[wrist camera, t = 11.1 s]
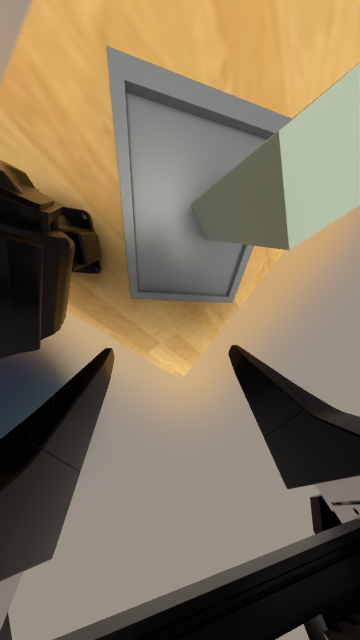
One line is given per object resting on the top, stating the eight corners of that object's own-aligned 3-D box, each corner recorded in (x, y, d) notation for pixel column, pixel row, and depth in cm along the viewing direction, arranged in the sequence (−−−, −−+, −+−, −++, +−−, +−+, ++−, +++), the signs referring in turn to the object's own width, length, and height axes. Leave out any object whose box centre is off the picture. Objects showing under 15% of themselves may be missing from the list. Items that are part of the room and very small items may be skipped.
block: (206, 239, 16) (289, 250, 6) (190, 204, 14) (279, 130, 4) (234, 217, 16) (383, 189, 5) (222, 176, 13) (434, 0, 3)
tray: (133, 293, 20) (131, 298, 18) (114, 76, 10) (106, 45, 8) (226, 297, 23) (232, 302, 21) (282, 136, 13) (300, 122, 11)
